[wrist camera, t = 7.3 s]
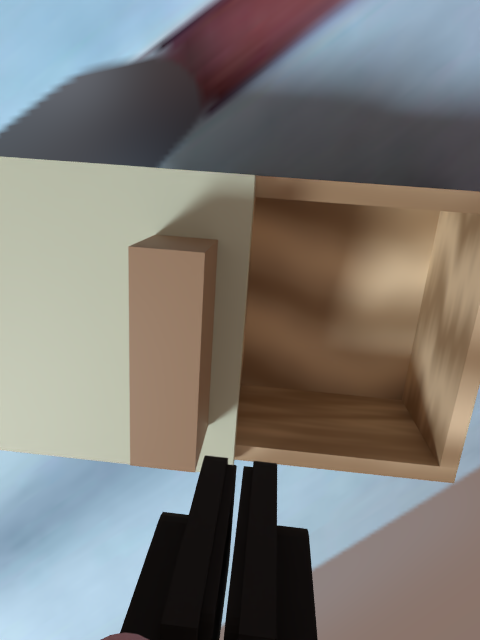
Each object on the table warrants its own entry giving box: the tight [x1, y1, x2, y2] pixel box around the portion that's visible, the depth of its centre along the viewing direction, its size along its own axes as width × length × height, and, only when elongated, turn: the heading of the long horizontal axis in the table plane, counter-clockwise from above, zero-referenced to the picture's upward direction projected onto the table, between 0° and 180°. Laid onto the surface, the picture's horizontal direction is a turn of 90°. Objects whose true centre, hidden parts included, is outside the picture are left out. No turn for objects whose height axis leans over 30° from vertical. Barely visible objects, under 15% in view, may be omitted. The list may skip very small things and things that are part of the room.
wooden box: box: [234, 176, 480, 483], centre depth 28 cm, size 16×14×9 cm
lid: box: [0, 157, 256, 472], centre depth 21 cm, size 16×14×5 cm
